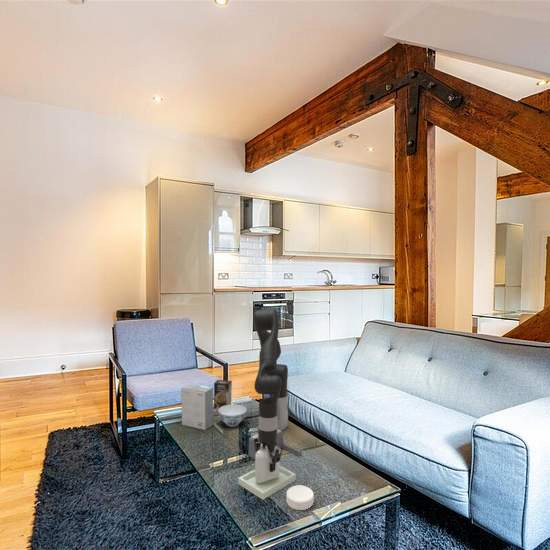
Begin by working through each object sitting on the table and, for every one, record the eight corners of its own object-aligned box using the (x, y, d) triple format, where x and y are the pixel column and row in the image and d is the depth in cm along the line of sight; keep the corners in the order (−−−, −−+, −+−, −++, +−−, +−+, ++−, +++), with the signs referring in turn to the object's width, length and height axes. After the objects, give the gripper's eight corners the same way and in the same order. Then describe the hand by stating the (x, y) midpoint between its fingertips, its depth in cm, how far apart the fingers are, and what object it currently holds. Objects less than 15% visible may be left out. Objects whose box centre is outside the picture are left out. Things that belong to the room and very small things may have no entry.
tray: (270, 466, 161) (270, 460, 161) (295, 480, 152) (295, 474, 151) (238, 483, 148) (238, 477, 148) (263, 500, 139) (263, 493, 139)
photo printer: (275, 471, 155) (275, 441, 154) (281, 476, 151) (281, 446, 151) (253, 479, 149) (253, 448, 148) (258, 485, 145) (259, 453, 145)
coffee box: (213, 410, 221) (213, 382, 220) (216, 406, 227) (217, 379, 227) (228, 411, 219) (228, 383, 219) (231, 407, 226) (231, 380, 225)
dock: (275, 443, 182) (275, 425, 182) (301, 455, 171) (301, 436, 170) (246, 457, 169) (246, 438, 168) (272, 471, 158) (272, 450, 157)
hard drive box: (213, 424, 201) (213, 387, 201) (205, 430, 194) (205, 392, 194) (189, 419, 208) (189, 383, 207) (180, 424, 201) (180, 387, 200)
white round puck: (317, 509, 134) (317, 499, 134) (290, 512, 132) (290, 503, 132) (309, 492, 144) (309, 483, 144) (283, 495, 142) (283, 486, 142)
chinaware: (250, 419, 208) (250, 406, 208) (241, 431, 194) (241, 416, 193) (224, 416, 212) (224, 403, 212) (213, 428, 197) (213, 413, 197)
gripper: (287, 428, 147) (287, 472, 148) (262, 417, 157) (261, 458, 158) (274, 435, 142) (273, 480, 142) (248, 423, 152) (248, 465, 152)
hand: (267, 468), depth 150 cm, fingers closed on photo printer, 4 cm apart
